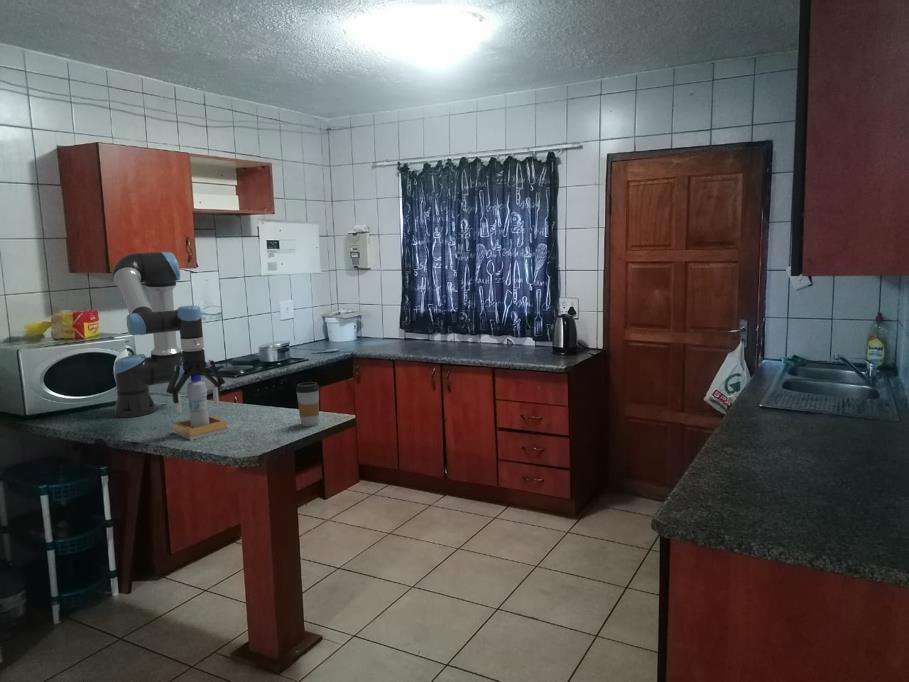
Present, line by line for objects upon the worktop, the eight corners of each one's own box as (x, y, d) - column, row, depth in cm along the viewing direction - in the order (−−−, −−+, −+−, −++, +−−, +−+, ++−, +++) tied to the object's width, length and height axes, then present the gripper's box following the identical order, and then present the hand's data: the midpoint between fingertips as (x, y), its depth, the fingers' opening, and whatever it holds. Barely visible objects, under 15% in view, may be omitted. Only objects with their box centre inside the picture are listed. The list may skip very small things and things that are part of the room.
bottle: (203, 431, 233) (198, 376, 230) (186, 431, 234) (181, 376, 231) (214, 426, 239) (209, 372, 237) (197, 425, 241) (192, 372, 238)
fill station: (172, 432, 238) (171, 422, 237) (210, 424, 247) (209, 414, 247) (190, 440, 227) (189, 430, 226) (228, 431, 237) (227, 421, 236)
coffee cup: (296, 422, 245) (293, 383, 242) (318, 419, 248) (316, 380, 246) (300, 428, 237) (297, 387, 235) (323, 425, 240) (321, 385, 238)
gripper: (161, 355, 221) (167, 417, 225) (231, 345, 239) (235, 402, 242) (152, 353, 227) (158, 413, 230) (221, 343, 244) (226, 399, 247)
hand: (198, 408), depth 236 cm, fingers open, 13 cm apart
